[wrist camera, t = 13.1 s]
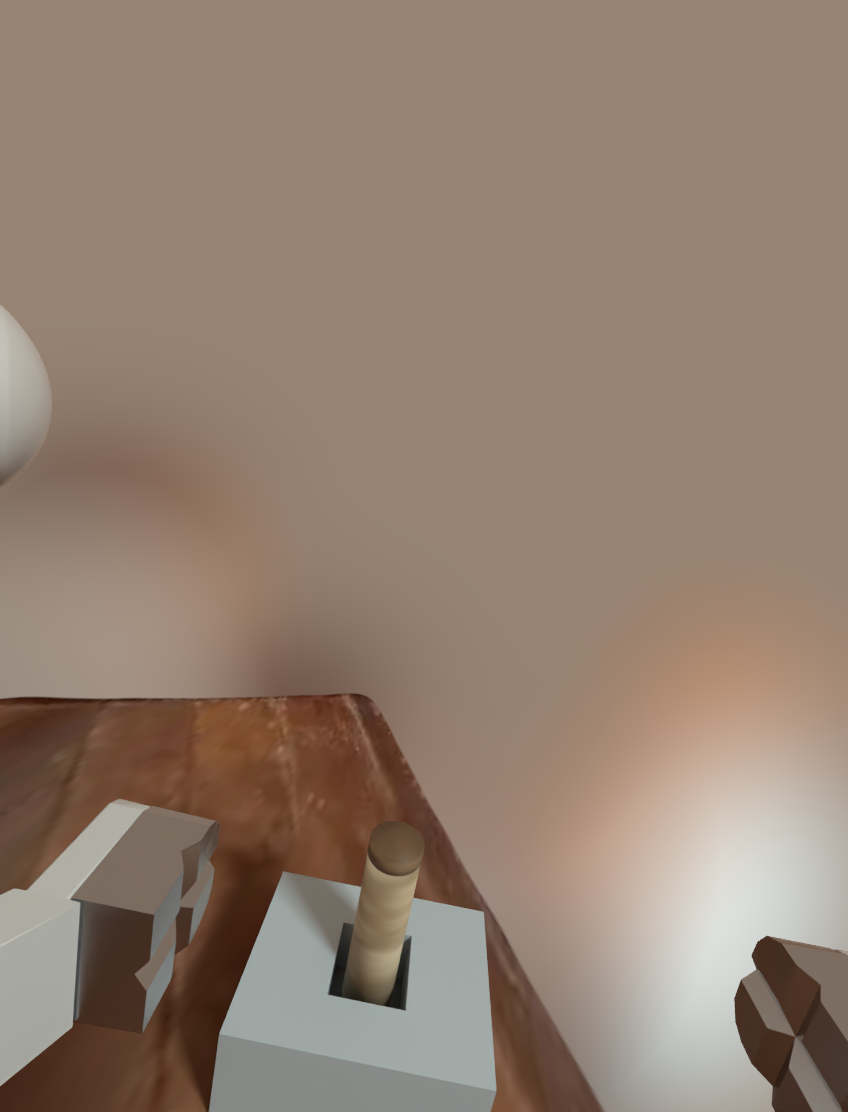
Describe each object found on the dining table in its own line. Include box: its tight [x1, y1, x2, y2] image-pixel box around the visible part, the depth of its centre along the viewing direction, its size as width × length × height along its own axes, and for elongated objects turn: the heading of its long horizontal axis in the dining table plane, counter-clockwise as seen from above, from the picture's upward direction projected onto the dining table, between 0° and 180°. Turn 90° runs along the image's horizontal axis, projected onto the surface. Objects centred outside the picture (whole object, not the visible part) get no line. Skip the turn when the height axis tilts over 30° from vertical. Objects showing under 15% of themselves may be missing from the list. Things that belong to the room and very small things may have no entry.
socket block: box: [209, 871, 496, 1112], centre depth 31 cm, size 14×10×6 cm
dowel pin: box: [341, 821, 424, 1007], centre depth 30 cm, size 3×3×12 cm
